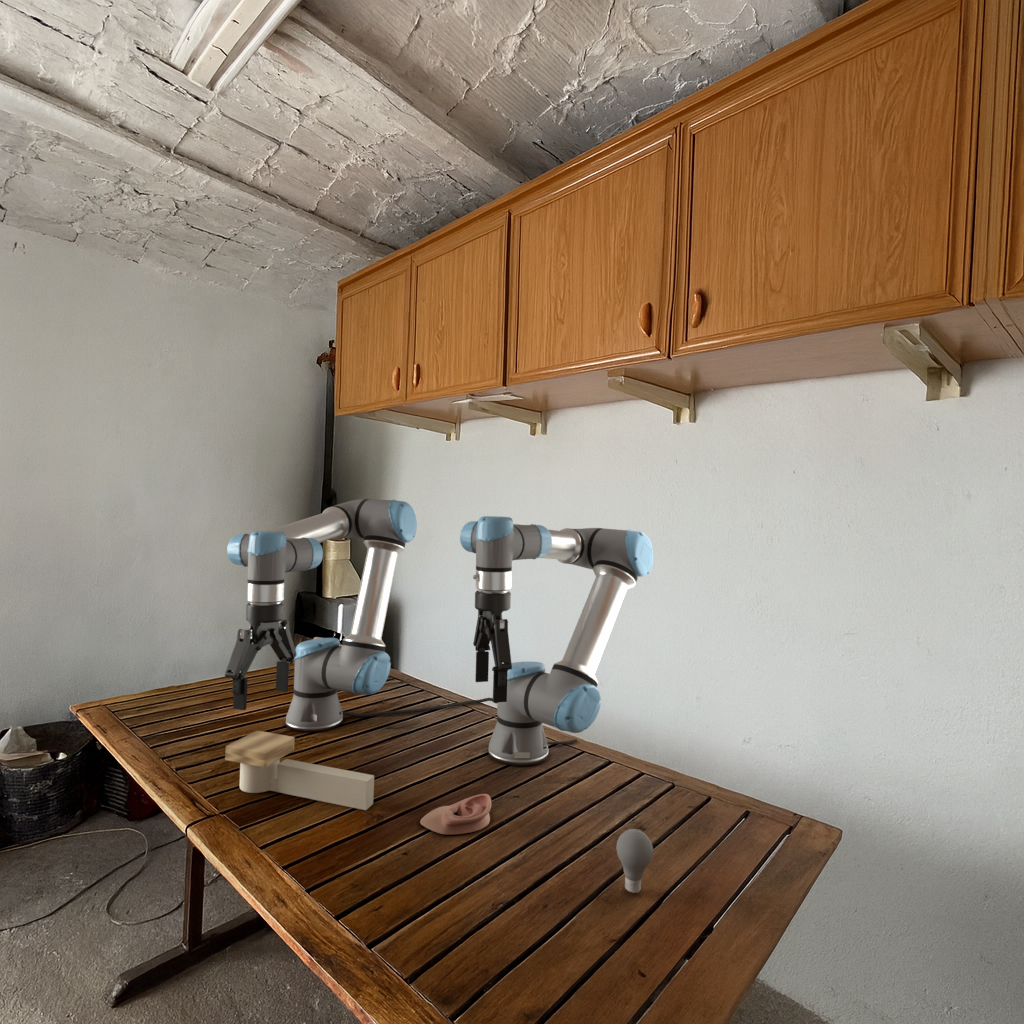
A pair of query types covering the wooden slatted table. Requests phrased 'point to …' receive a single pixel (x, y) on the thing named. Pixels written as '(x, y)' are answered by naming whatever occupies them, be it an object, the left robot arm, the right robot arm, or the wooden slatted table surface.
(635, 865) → the light bulb
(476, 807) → the anatomical model
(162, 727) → the wooden slatted table surface
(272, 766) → the toy wooden mallet
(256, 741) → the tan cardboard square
